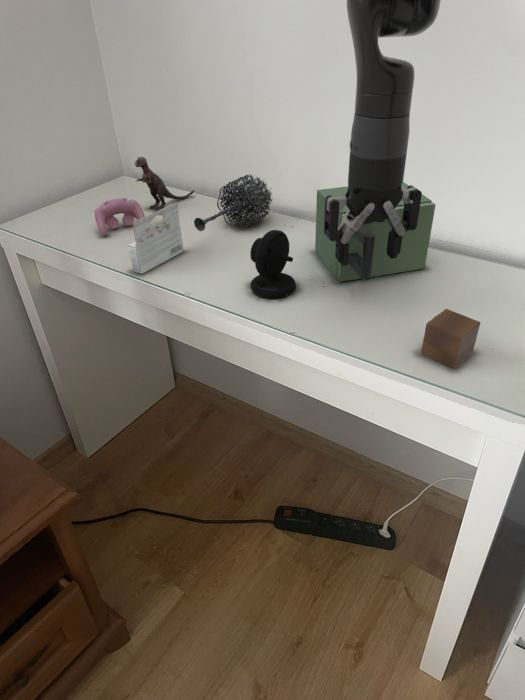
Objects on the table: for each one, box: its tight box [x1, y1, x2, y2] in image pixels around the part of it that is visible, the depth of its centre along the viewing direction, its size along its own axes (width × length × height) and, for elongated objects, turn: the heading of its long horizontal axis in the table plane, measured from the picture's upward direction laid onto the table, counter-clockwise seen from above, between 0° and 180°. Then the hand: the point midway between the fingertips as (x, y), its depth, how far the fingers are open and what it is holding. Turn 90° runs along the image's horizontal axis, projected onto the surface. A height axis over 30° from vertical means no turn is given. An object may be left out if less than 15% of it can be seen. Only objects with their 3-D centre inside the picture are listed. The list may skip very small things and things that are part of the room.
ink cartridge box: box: [127, 201, 185, 275], centre depth 94 cm, size 2×11×10 cm, turn 145°
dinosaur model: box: [134, 156, 195, 212], centre depth 117 cm, size 4×12×15 cm
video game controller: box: [94, 197, 146, 237], centre depth 109 cm, size 10×5×7 cm, turn 116°
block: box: [420, 308, 481, 370], centre depth 70 cm, size 5×5×5 cm
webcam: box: [250, 229, 297, 300], centre depth 85 cm, size 8×8×10 cm
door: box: [336, 201, 437, 283], centre depth 84 cm, size 7×16×12 cm, turn 105°
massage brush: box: [193, 174, 274, 232], centre depth 106 cm, size 9×22×9 cm, turn 144°
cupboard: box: [314, 181, 433, 280], centre depth 92 cm, size 11×16×12 cm
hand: (367, 259), depth 80 cm, fingers open, 7 cm apart
